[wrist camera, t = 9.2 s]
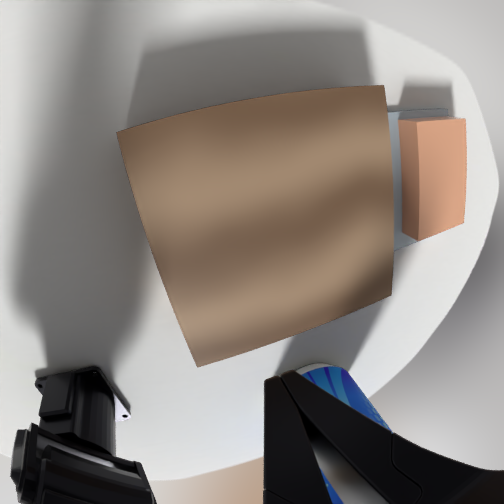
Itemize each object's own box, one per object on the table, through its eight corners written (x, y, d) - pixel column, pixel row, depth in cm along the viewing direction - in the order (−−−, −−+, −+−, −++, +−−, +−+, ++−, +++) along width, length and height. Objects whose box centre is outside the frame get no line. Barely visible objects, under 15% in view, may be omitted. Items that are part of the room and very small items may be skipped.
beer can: (256, 378, 26) (335, 543, 12) (343, 343, 27) (450, 476, 13) (271, 426, 30) (333, 554, 16) (344, 396, 31) (421, 508, 17)
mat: (444, 228, 26) (447, 229, 26) (361, 260, 24) (364, 262, 24) (444, 109, 21) (447, 109, 21) (350, 116, 19) (353, 116, 19)
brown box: (361, 270, 25) (391, 295, 21) (188, 329, 22) (197, 367, 19) (346, 87, 18) (384, 85, 15) (125, 130, 16) (116, 132, 12)
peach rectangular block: (418, 241, 22) (402, 232, 24) (463, 222, 23) (448, 215, 25) (416, 121, 18) (397, 119, 20) (465, 118, 19) (447, 116, 21)
